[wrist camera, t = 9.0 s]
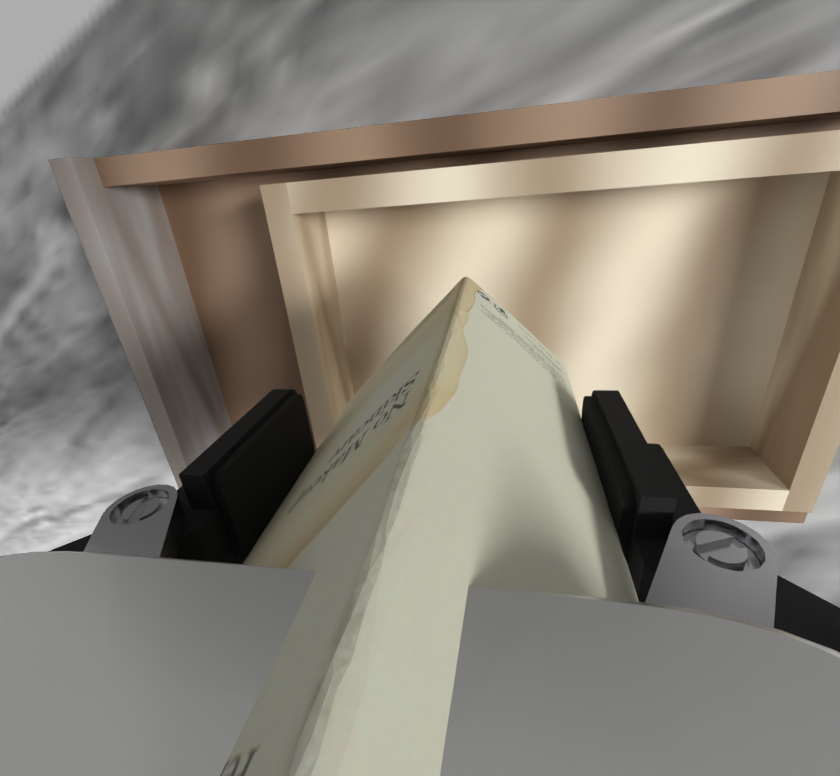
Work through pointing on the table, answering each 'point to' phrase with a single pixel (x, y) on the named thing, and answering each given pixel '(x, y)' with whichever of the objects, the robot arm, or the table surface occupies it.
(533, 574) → the skincare box
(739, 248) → the birch crate
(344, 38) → the table surface
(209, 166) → the wooden serving tray
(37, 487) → the table surface
